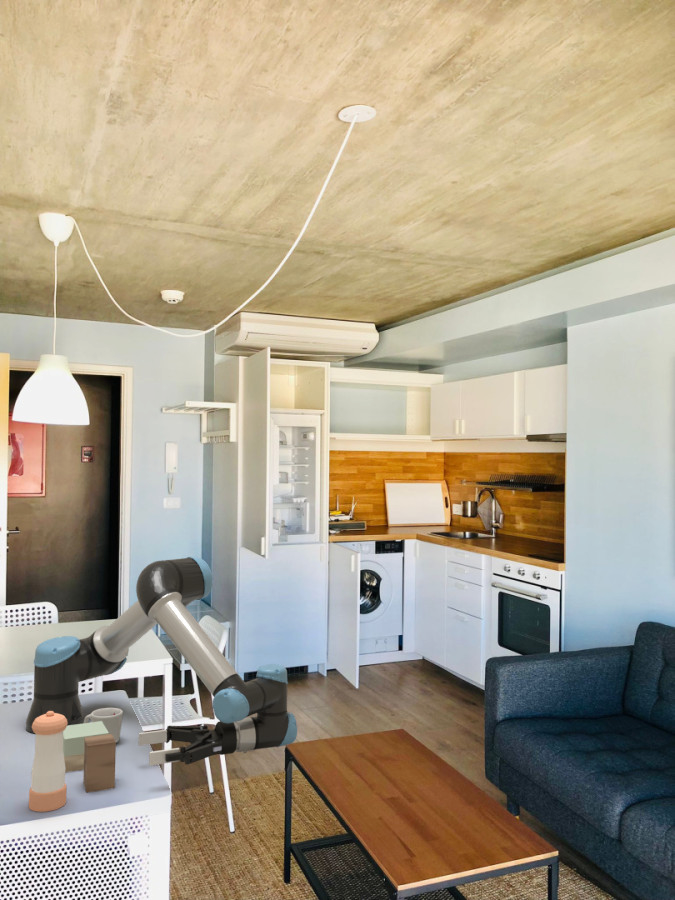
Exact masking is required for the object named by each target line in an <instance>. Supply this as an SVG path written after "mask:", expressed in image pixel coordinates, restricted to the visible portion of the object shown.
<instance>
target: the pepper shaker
mask: <svg viewBox="0 0 675 900" xmlns="http://www.w3.org/2000/svg"><path fill="white" fill-rule="evenodd" d="M67 724H68V722H67V719H66V718H65V716H64V715H61V714H58V713H54V712H53V711H48V712H47V713H46V714H44V715H41V716H39V717H37V718H36V719H35V720H34V722H33V724H32V730H33V732H34V733H33V734H35V738H34V739H35V741H34V742H35V746H34V757H33V763H32V768H31V772H30V773H31V781H30V782H31V787H30V789H29V792H28V797H29V798H28V809H29V810H31V811H33V812H37V813H38V812H39V813H41V812H51V811H55V810H57V809H60V808H62V807H64V806H65V805H66V804H67V784H66V772H65V761H64V754H63V731H64V730H65V729H66V727H67Z"/></svg>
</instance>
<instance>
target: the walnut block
mask: <svg viewBox="0 0 675 900" xmlns="http://www.w3.org/2000/svg"><path fill="white" fill-rule="evenodd" d="M116 744H117V743H116V742H115V739H114V737H113V735H112V734H107V735H99V736H91V737H84V770H83V786H84V790H85V793H94V792H99V791H105V790H106V789H107V790H111V788H113V789H115V788H116V753H117V752H116V750H117V749H116V746H117V745H116Z"/></svg>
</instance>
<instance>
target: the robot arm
mask: <svg viewBox="0 0 675 900" xmlns="http://www.w3.org/2000/svg"><path fill="white" fill-rule="evenodd" d="M213 578H214V577H213V573H212V570H211V567H210V566H209V564H208V563H207V562H206V561H205V560H204V559H203V558H201V557H196V556H194V557H193V556H188V557H185V558H174V559H165V560H163V559H162V560H156V561H153V562H151V563H149V564H148V565H147V566H145V567H144V568H143V569H142V570H141V572H140V574H139V575H138V577H137V581H136V588H135V589H136V590H135V591H136V597H137V601H136V602H134V603H133V604H132V605H131V606H130V607H128V609H126V610H125V611H124V612H123V613H122V614H121V615H120V616H118V617H117V619H115V620H114V621H113V622H112V623H110V625H103V626H100V627H99V628H97V629H96V630H95V631H94V632H93V633H92V634H90V635H89V636H87V637H85V638H81V639H80V638H79V637H77V636H73V635H66V636H61V637H60V636H58V637H53V638H50V639H47V640H44V641H42V642H41V643H39V644H38V645H37V646H36V649H35V653H34V660H33V664H34V669H33V670H34V673H33V674H34V675H33V676H34V677H33V680H34V681H33V701H32V702H31V703H32V704H31V706H30V708H29V712H28V714H27V717H26V719H25V730H26V731H27V732H29V733H33V734H35V733H34V732H33V730H32V724H33V722H34V720H35V719H36V718H37V717H39V716H41V715H44V714H46V713H47V712H48V711H53V712H54V713H58V714H61V715H64V716H65V718H66V719H67V722H68V724H67V726H68V725H76V724H83V723H84V719H85V713H84V709H83V706H82V704H81V700H80V699H81V698H80V696H79V686H80V684H79V683H80V682H84V681H88V680H91V679H96V678H99V677H103V676H109V675H112V674H114V673H116V672H118V671H119V670H121V669H122V668H123V667H124V665H126V662H127V660H128V658H127V657H128V656H129V651H130V648H131V647H132V646H133V645H135V644H136V643H137V642H138V641H140V639H141V638H143V637H144V636H145V635H146V634H147V633H148V632H150V630H152V629H153V628H154V627H156V625H159V628H161V629H162V631H163V632H164V633H165V635H166V636H167V637H168V639H169V640H170V641H171V642H172V644H173V645H174V647H175V648H176V649H177V650H178V651H179V652H180V655H182V657H183V658H184V660H185V661H186V662H187V663H188V665H189V666H190V667H191V669H192V670H193V671H194V672H195V674H196V676H198V678H199V679H200V680H201V682H202V683H203V684H204V686H205V687H206V689H207V690H208V692H209V693H210V694H211V695H212V696H213V700H212V709H213V712H214V713H213V715H214V716H215V718H216V719H217V720H218V721H217V722H216V723H215V727H214V729H209V728H208V727H209V726H208V725H196V726H195V725H167V727H166V729H162V730H161V729H160V730H152V731H146V732H145V731H144V732H139V733H138V746H139V747H141V746H146V745H154V744H162V743H166V744H168V743H169V742H170V741H173V742H183V743H189V745H188V746H183V745H181V746H180V748H179V747H176V748H169V749H167V748H166V749H162V750H161V749H160V750H154V751H149V756H148V757H149V760H148V764H149V766H156V765H162V764H163V765H164V764H171V763H178V762H181V763H184V764H185V765H191V764H193V763H195V762H196V763H197V762H198V761H201V760H204V759H206V758H210V757H212V756H217V755H220V756H222V755H223V756H224V755H230V754H234V753H235V752H236V753H244V754H247V752H248V751H255V750H261V749H270V748H271V749H272V748H280V747H283V746H288V745H290V744H293V743H294V742H295V741H296V739H297V737H298V725H297V724H298V723H297V722H298V721H297V718H296V717H295V715H294V714H293V712H288V685H289V682H288V670H287V668H286V667H285V666H283V665H279V664H264V665H260V666H259V667H258V668H257V670H256V671H257V672H256V676H255V677H256V678H254V679H251V680H249V681H246V682H245V681H244V680H243V678H242V677H241V676H240V675H239V673H238V672H237V671H236V670H235V668H234V667H233V666H232V664H231V663H230V662H229V661H228V660H227V658H226V657H225V656H224V655H223V653H222V652H221V651H220V649H219V648H218V647H217V645H216V644H215V643H214V642H213V640H212V639H211V638H210V637H209V635H208V634H207V633H206V632H205V630H204V629H203V627H202V626H201V625H200V624H199V623H198V621H197V620H196V619H195V617H194V616H193V615H192V613H191V612H190V611H189V609H187V606H189V605H190V604H191V603H192V602H194V601H196V600H197V601H201V600H203V599H204V598H207V596H209V594H210V593H211V592H212V588H213V580H214V579H213ZM255 714H256V716H253V715H255ZM250 716H251V717H250Z"/></svg>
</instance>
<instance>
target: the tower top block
mask: <svg viewBox="0 0 675 900" xmlns="http://www.w3.org/2000/svg"><path fill="white" fill-rule="evenodd" d="M107 734H109V732H108V731H107V729H106V727H105V726H104V724H103V722H102V721H98V722H91V721H90V722H89V723H83V724H76V725H68V726H67V727H66V729H65V730H64V731H63V754H64V757H65V756H72V755H79V754H84V737H91V736H99V735H107Z"/></svg>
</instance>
